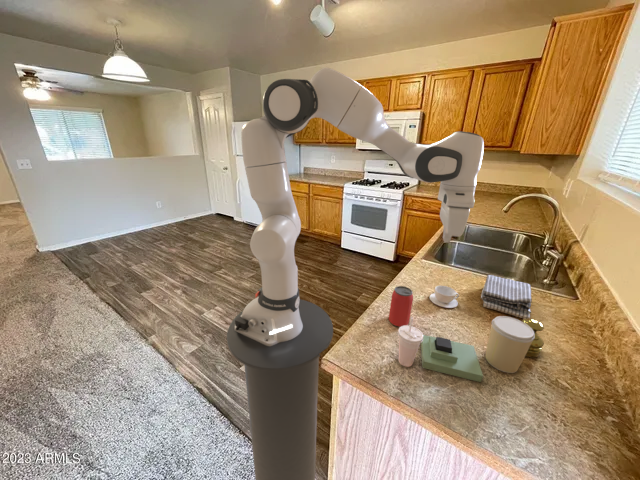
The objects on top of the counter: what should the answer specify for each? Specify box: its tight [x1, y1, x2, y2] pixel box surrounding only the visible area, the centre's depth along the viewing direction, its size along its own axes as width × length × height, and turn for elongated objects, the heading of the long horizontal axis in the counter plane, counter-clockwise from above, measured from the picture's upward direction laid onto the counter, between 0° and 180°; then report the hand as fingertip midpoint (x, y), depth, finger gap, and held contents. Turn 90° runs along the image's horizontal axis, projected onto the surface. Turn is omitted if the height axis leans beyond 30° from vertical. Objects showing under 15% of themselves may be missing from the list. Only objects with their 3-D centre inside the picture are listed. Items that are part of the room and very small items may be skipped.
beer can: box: [388, 285, 414, 328], centre depth 86 cm, size 7×7×12 cm
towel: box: [480, 274, 533, 320], centre depth 99 cm, size 15×18×8 cm
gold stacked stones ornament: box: [521, 318, 545, 358], centre depth 76 cm, size 7×7×10 cm
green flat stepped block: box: [420, 334, 484, 383], centre depth 73 cm, size 14×11×4 cm
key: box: [435, 336, 452, 353], centre depth 72 cm, size 4×4×2 cm
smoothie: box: [397, 316, 424, 368], centre depth 70 cm, size 6×6×14 cm
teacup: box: [429, 285, 460, 309], centre depth 100 cm, size 10×10×5 cm
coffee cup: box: [484, 315, 535, 374], centre depth 71 cm, size 9×9×12 cm
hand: (446, 240), depth 79 cm, fingers closed
